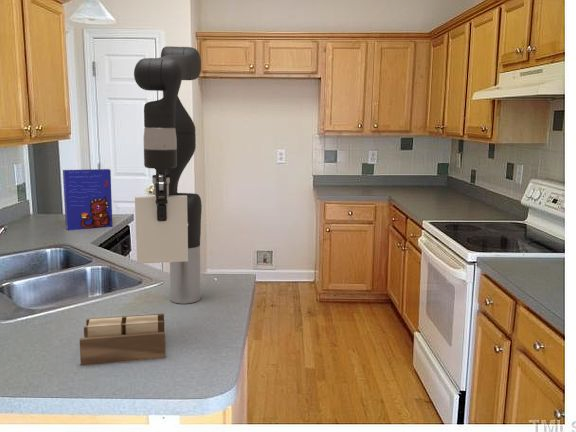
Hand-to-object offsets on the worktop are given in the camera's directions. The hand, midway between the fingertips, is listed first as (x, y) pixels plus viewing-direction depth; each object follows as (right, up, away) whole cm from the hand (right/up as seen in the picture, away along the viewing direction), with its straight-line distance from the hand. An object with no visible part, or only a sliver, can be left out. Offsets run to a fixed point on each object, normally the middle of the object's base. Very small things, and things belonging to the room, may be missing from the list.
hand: (161, 219), depth 122 cm
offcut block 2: (-3, -31, -4) cm, 31 cm away
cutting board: (0, -10, +2) cm, 10 cm away
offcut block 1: (-11, -31, -6) cm, 34 cm away
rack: (-8, -32, -3) cm, 33 cm away
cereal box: (-72, -5, +140) cm, 158 cm away
